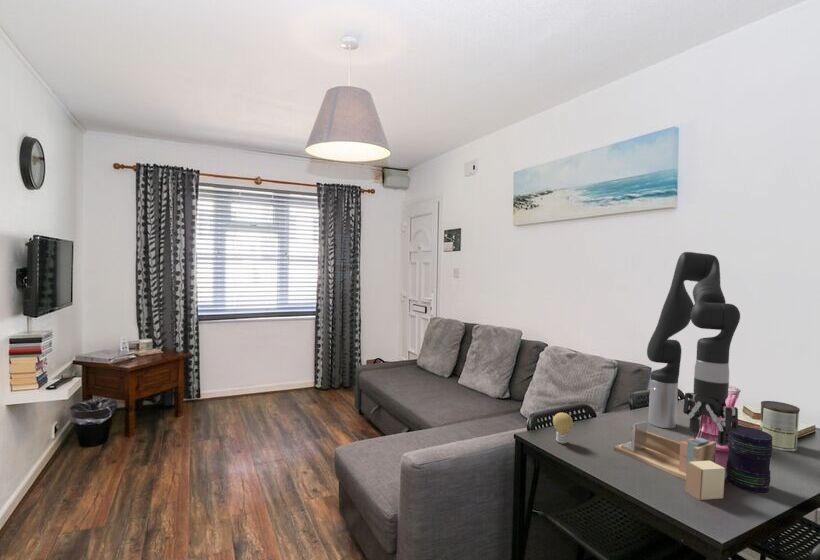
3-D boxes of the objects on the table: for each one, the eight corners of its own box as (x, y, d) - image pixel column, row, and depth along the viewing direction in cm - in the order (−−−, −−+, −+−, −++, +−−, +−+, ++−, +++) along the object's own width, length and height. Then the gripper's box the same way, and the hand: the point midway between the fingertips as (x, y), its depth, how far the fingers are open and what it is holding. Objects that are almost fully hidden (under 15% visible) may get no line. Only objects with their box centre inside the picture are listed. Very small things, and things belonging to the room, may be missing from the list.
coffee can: (751, 437, 156) (754, 399, 155) (783, 440, 154) (786, 402, 154) (770, 449, 146) (773, 408, 145) (805, 452, 144) (807, 411, 144)
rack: (632, 443, 147) (634, 413, 146) (714, 475, 125) (716, 440, 125) (613, 449, 141) (615, 418, 141) (695, 484, 120) (697, 447, 120)
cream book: (708, 489, 117) (710, 460, 117) (723, 498, 113) (724, 468, 113) (685, 490, 116) (687, 461, 116) (699, 499, 112) (701, 469, 111)
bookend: (633, 443, 144) (634, 417, 144) (646, 448, 141) (647, 421, 140) (621, 447, 141) (622, 420, 141) (633, 452, 137) (635, 424, 137)
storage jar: (730, 472, 128) (733, 423, 127) (772, 486, 120) (776, 433, 120) (721, 483, 121) (724, 431, 120) (765, 498, 114) (769, 442, 113)
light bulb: (567, 447, 142) (568, 417, 141) (548, 442, 146) (550, 412, 146) (574, 442, 146) (576, 413, 146) (556, 436, 151) (558, 408, 150)
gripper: (748, 385, 107) (745, 449, 108) (700, 371, 121) (697, 428, 122) (723, 385, 106) (719, 450, 106) (677, 371, 120) (674, 428, 120)
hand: (707, 438), depth 114 cm, fingers open, 8 cm apart
